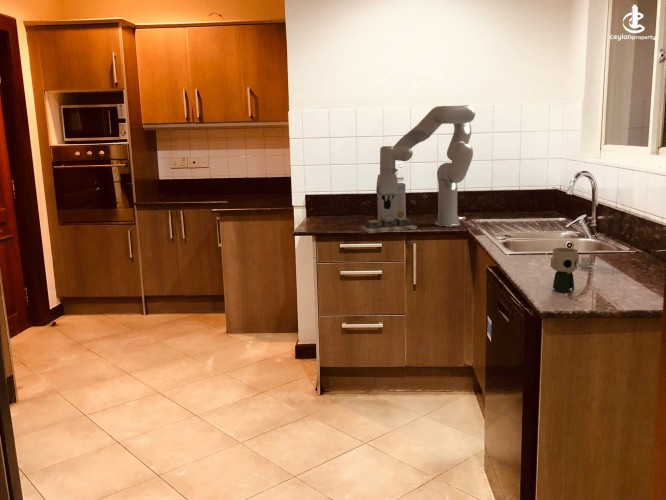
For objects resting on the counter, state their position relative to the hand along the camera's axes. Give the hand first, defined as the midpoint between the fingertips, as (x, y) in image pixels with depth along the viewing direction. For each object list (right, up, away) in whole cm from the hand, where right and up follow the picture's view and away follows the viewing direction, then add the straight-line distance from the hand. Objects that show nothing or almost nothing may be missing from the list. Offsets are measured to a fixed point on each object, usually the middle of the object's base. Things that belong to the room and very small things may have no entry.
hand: (387, 208), depth 311 cm
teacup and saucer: (+66, -27, -86) cm, 112 cm away
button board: (+1, -10, +2) cm, 10 cm away
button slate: (+1, -7, +2) cm, 7 cm away
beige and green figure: (+45, -33, -116) cm, 129 cm away
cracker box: (+4, -6, +21) cm, 22 cm away
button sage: (+8, -8, +4) cm, 12 cm away
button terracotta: (-7, -9, -1) cm, 11 cm away
